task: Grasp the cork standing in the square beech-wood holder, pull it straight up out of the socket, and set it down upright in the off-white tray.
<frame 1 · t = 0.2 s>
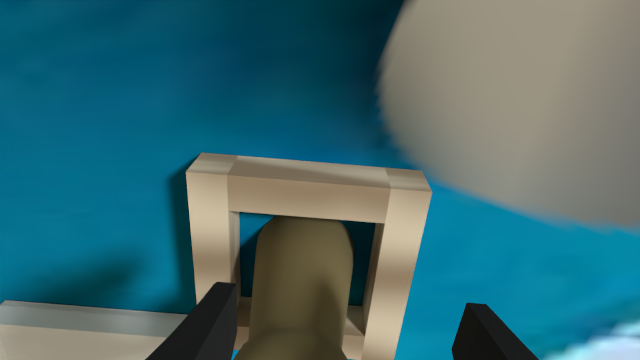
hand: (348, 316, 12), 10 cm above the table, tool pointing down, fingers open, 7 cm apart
cork: (305, 249, 24), resting in holder
holder: (305, 251, 24), on the table
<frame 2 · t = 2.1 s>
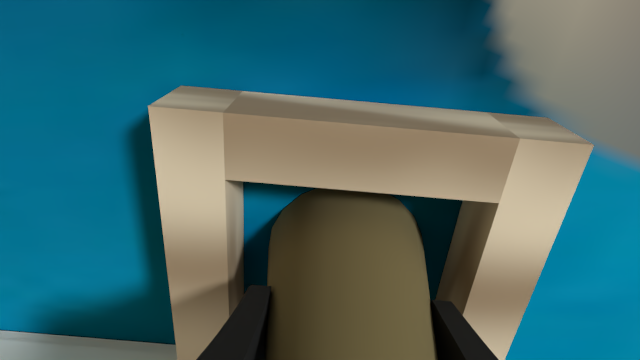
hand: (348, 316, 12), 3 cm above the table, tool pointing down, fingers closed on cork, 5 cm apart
cork: (344, 248, 15), resting in holder, touching gripper
holder: (345, 251, 15), on the table
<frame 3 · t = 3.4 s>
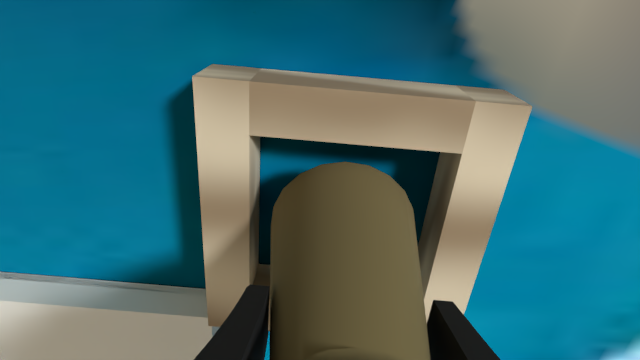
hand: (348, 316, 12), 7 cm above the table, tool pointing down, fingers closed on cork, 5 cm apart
cork: (342, 224, 17), point 2 cm above the table, touching gripper
holder: (343, 204, 18), on the table
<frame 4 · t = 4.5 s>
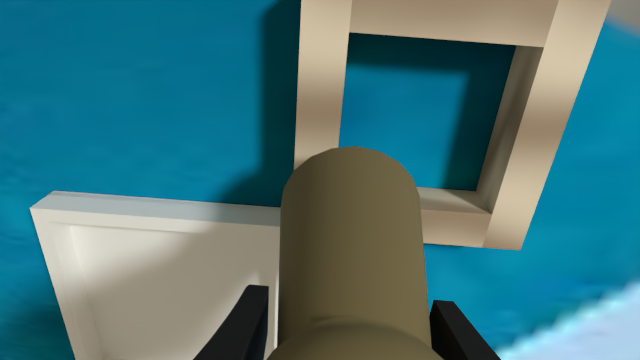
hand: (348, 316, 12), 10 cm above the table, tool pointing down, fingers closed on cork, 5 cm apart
tray: (185, 292, 26), on the table
cork: (349, 207, 17), point 5 cm above the table, touching gripper
holder: (417, 116, 20), on the table
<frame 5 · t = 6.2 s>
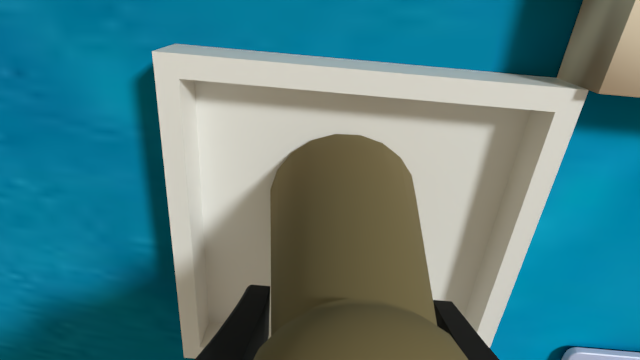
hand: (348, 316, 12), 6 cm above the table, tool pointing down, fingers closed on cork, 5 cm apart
tray: (345, 223, 17), on the table
cork: (342, 200, 16), resting on tray, touching gripper
when the fingers open (5 cm above the table, at t = 6.7 s): cork stays where it is, resting on tray.
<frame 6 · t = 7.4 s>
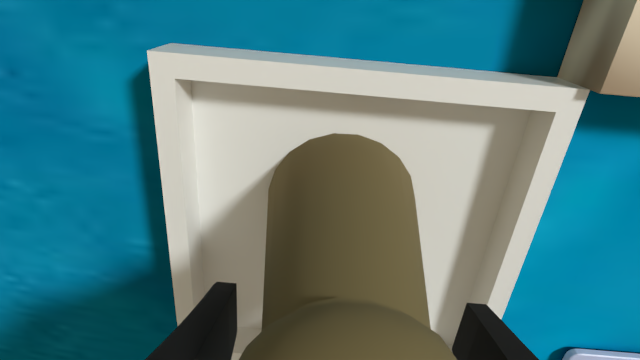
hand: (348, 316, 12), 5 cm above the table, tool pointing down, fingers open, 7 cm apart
tray: (343, 224, 17), on the table
cork: (340, 200, 16), resting on tray
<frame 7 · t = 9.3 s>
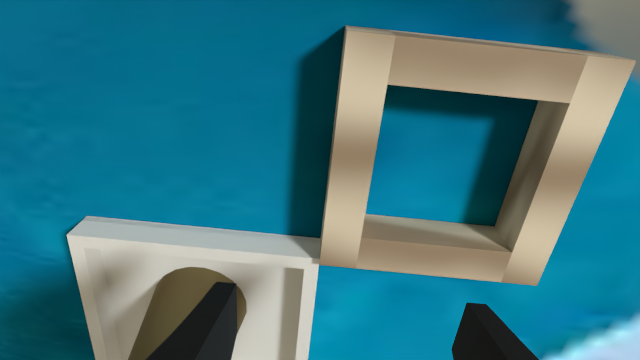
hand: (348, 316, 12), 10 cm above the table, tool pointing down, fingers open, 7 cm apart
tray: (208, 313, 26), on the table
cork: (201, 301, 25), resting on tray
holder: (442, 156, 21), on the table
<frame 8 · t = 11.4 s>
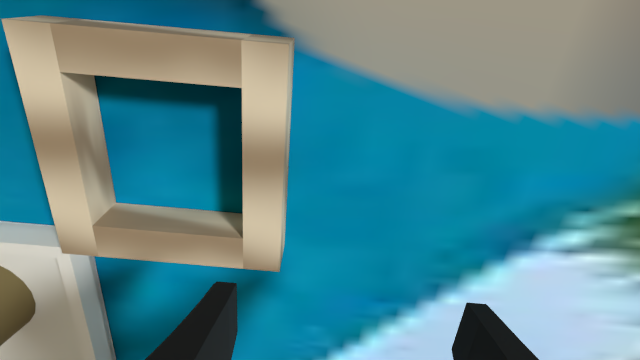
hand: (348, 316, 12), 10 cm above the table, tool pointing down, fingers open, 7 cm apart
tray: (4, 305, 27), on the table
holder: (178, 144, 21), on the table
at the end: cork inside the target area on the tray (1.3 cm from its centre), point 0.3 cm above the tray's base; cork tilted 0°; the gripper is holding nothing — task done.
